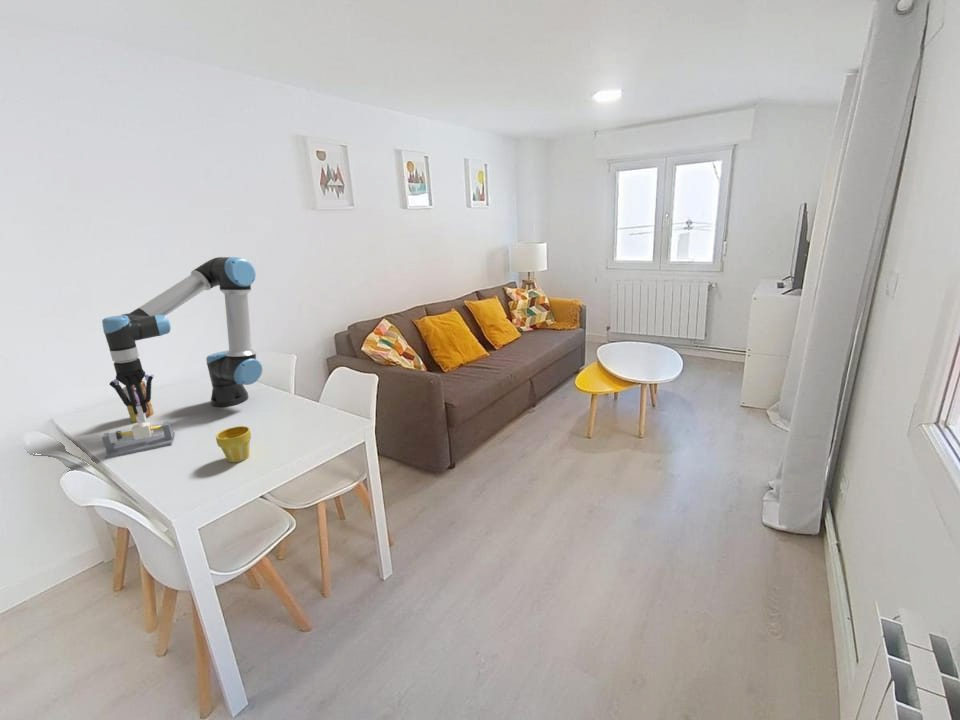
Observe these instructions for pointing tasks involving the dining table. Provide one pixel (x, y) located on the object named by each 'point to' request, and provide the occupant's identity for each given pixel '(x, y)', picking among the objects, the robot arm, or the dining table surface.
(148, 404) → the candy box
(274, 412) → the dining table surface
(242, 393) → the robot arm
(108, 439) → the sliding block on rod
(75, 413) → the dining table surface
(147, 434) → the cream slider carriage
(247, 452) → the plant pot
